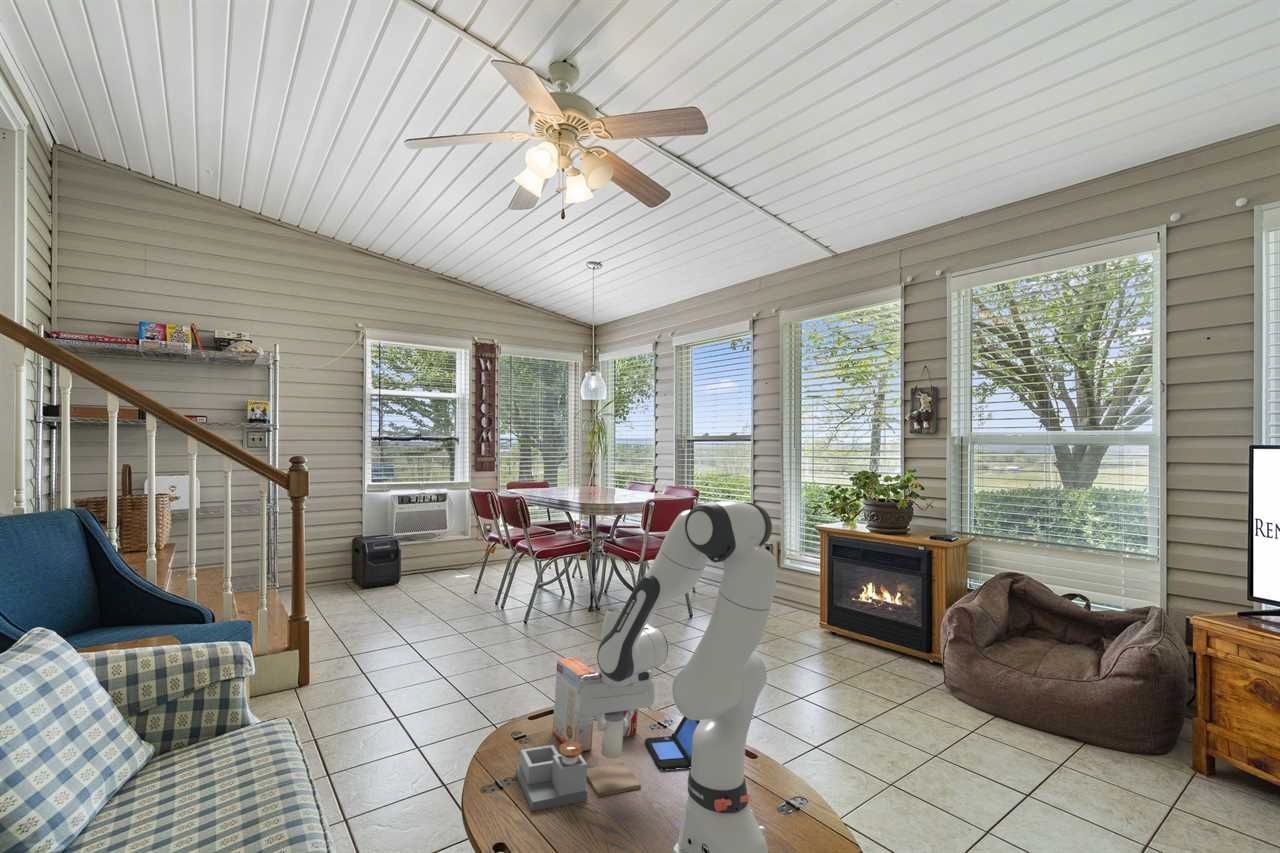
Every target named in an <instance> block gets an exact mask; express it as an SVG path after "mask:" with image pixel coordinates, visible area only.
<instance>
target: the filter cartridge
mask: <svg viewBox="0 0 1280 853" xmlns="http://www.w3.org/2000/svg"><path fill="white" fill-rule="evenodd" d="M603 721H604V723H606V727H605V728H606V730H605V731H602V742H601V754H602V756H603V757H605V758H608V759H617V758H620V757H621V756H622V754H623V743H624V742H623V740H624V737H623V727H624V711H618V712H611V713H604V714H603Z"/></svg>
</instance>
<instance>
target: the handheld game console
mask: <svg viewBox="0 0 1280 853" xmlns="http://www.w3.org/2000/svg"><path fill="white" fill-rule="evenodd" d="M700 721H701V720H690V719H688V718H686V717H685V716H684V715H683V717H682V719H681V720H680V722H679V723H678V725H677V727H676V729H675V730H674V732H673V733H671V735H667V736H657V737H656V736H655V737H647V738H645V740H644V745H645V746H646V748H647V749H648V752H649V754H650V753H651V754H650V755H652V756H651V757H652V759H653V761H654V763H655V766H656V767H657V766H658V767H657V768H658V770H660V769H662V770H665V771H667V770H666V769H676V768H689V767H691V758H692V738H693V734H694V731H695V729H696V727H697V726H698V724H699V722H700ZM689 769H690V768H689ZM662 770H661V771H662Z"/></svg>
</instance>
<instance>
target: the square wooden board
mask: <svg viewBox="0 0 1280 853" xmlns="http://www.w3.org/2000/svg"><path fill="white" fill-rule="evenodd" d="M586 781H588V783H589V784H590V786H591V788H592V790H593V791H594V792H595V794H596V795H597V796H598V797H602V796H608V795H613V794H619V793H623V792H627V791H632V790H639V789H641V787H642V784H641V783H640V782H639V779H637V778H636V777H635V775H634V774H633V773H632V771H631V770H630V769H629V768H628V767H627V765H626V764H625V762H623V761H622V762H617V763H611V764H606V765H601V766H595V767H590V768H587V780H586Z"/></svg>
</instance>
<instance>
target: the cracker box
mask: <svg viewBox="0 0 1280 853" xmlns="http://www.w3.org/2000/svg"><path fill="white" fill-rule="evenodd" d="M593 674H597V672H596V671H595V670H593V669H592V668H591V667H589V666H588V665H587V664H584V663H583V662H582V661H580V660H579V659H578V658H576V657H574V656H571V657H566V658H560V659H556V674H555V675H556V676H555V690H554V691H555V692H554V704H553V706H554V707H553V722H552V733H553V734H554V736H556V738H557V739H558V740H560V742H561V743H562V744H563V743H566V742H576V743H579V744H580V745H581V746H582V752H581V753H583V752H587V751H590V750H592V745H593V744H592V743H593V734H594V733H593V730H594V728H593V727H594V717H595V716H594V715H589V716H580V715H579V714H578V713H577V711H576V710H575V701H576V695H577V682H578V680H579V679H580V678H582V677H583V676H584V675H593ZM582 680H583V679H582Z"/></svg>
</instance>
